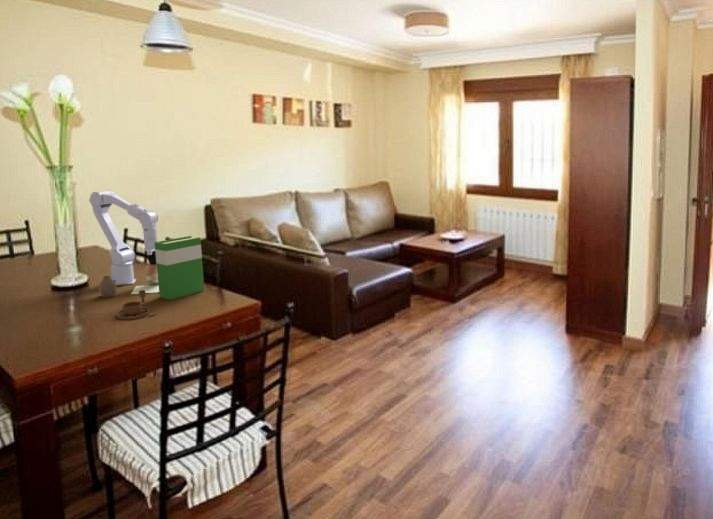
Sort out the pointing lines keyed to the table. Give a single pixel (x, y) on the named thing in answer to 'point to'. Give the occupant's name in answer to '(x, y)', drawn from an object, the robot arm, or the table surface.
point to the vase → (107, 287)
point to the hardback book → (179, 267)
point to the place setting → (133, 308)
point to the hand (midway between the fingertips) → (153, 267)
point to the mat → (146, 289)
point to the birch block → (151, 274)
